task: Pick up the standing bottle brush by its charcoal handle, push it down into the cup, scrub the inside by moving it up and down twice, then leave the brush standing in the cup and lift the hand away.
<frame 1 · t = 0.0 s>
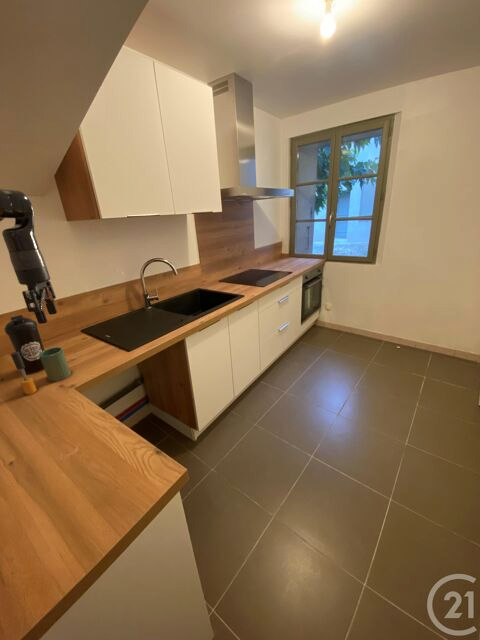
hand: (48, 318, 81), 29 cm above the worktop, tool pointing down, fingers open, 8 cm apart
water bottle: (37, 368, 111), on the worktop
brush: (31, 391, 95), on the worktop
cup: (60, 375, 104), on the worktop
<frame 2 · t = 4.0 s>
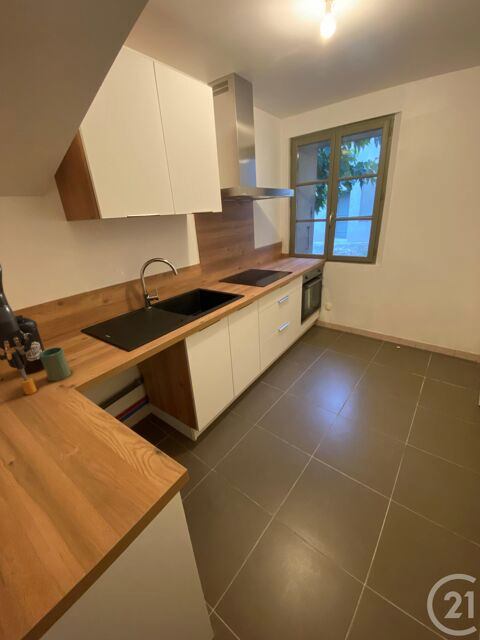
hand: (19, 365, 91), 11 cm above the worktop, tool pointing down, fingers closed on brush, 2 cm apart
brush: (31, 391, 95), on the worktop, touching gripper
everything else where it was.
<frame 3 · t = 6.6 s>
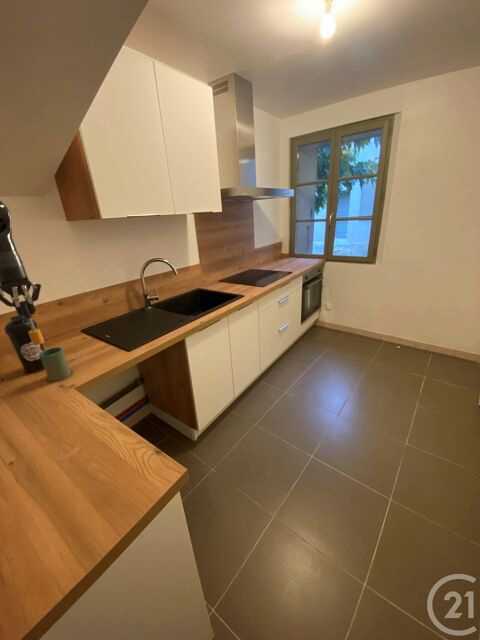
hand: (27, 314, 91), 27 cm above the worktop, tool pointing down, fingers closed on brush
brush: (38, 343, 96), point 16 cm above the worktop, touching gripper
everything else where it was.
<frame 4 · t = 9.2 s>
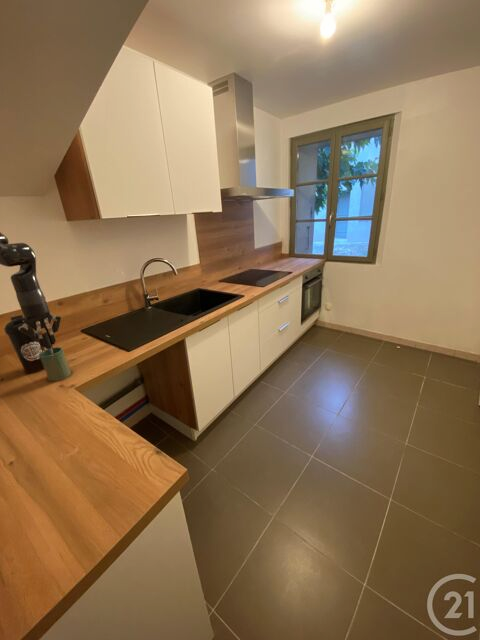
hand: (48, 345, 99), 14 cm above the worktop, tool pointing down, fingers closed on brush, 2 cm apart
brush: (57, 370, 103), point 3 cm above the worktop, touching gripper
everything else where it was.
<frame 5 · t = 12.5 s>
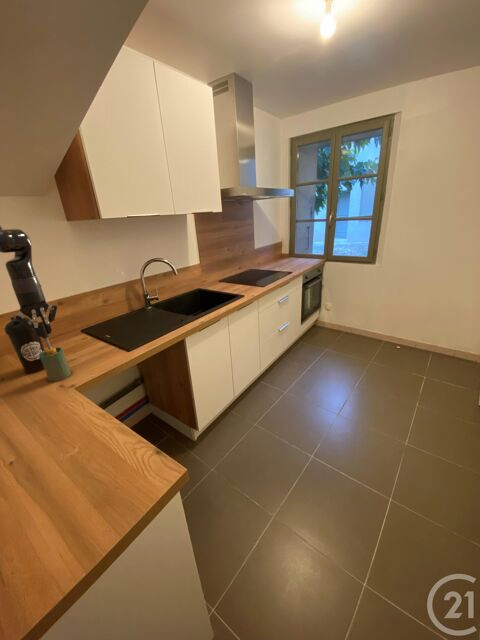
hand: (44, 334, 97), 18 cm above the worktop, tool pointing down, fingers closed on brush
brush: (54, 360, 101), point 7 cm above the worktop, touching gripper
everything else where it was.
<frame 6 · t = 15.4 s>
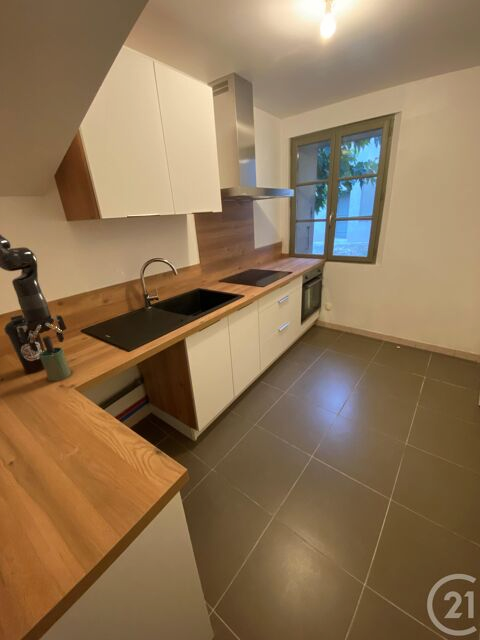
hand: (48, 346, 99), 13 cm above the worktop, tool pointing down, fingers open, 8 cm apart
brush: (59, 373, 104), point 1 cm above the worktop, touching cup
everything else where it was.
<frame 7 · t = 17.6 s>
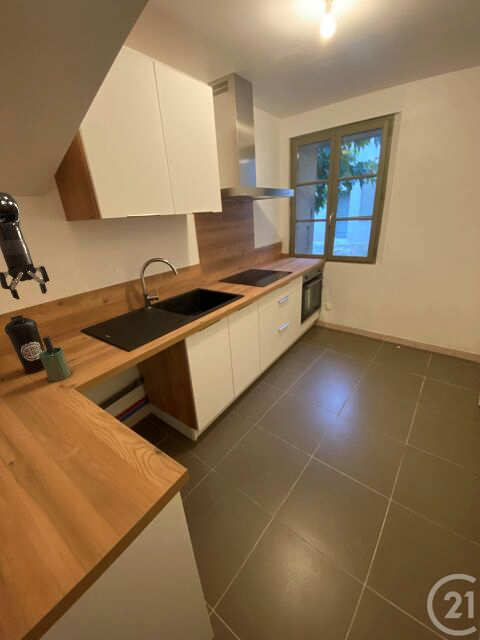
hand: (31, 296, 99), 31 cm above the worktop, tool pointing down, fingers open, 8 cm apart
nothing on the worktop moved.
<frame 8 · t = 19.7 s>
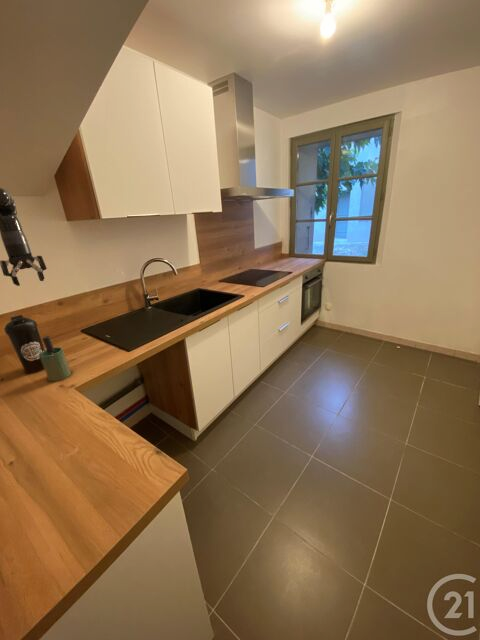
hand: (30, 283, 109), 34 cm above the worktop, tool pointing down, fingers open, 8 cm apart
nothing on the worktop moved.
at the end: brush 0.1 cm off-centre in the cup, point 1.0 cm above the cup's base; the gripper is holding nothing; water bottle moved 0.2 cm from its start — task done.
